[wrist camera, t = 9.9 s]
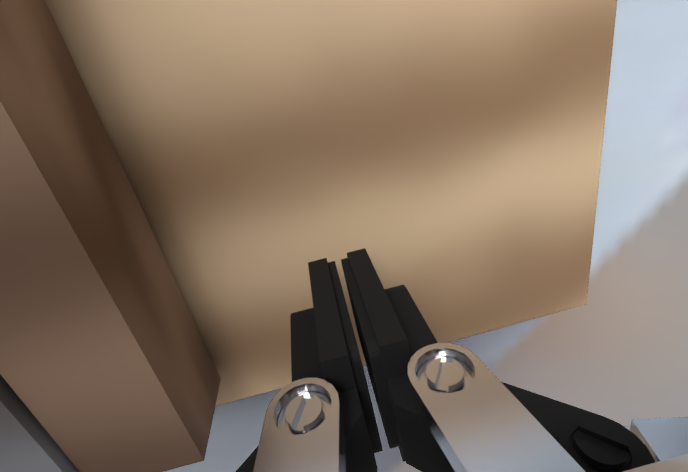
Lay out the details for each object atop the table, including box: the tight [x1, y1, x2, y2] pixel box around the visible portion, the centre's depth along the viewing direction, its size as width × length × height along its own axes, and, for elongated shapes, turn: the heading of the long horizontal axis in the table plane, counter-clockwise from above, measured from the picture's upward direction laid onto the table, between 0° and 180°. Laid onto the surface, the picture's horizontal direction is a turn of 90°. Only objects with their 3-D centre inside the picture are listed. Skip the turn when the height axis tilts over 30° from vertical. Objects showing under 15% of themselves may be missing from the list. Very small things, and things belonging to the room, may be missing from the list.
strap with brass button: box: [0, 0, 221, 472], centre depth 8 cm, size 14×3×4 cm, turn 11°
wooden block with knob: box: [0, 0, 617, 472], centre depth 10 cm, size 18×20×6 cm
